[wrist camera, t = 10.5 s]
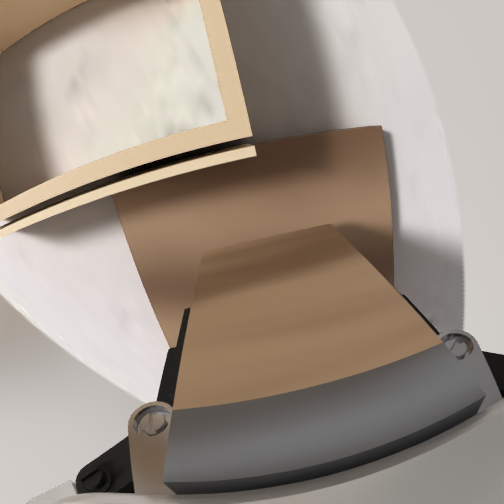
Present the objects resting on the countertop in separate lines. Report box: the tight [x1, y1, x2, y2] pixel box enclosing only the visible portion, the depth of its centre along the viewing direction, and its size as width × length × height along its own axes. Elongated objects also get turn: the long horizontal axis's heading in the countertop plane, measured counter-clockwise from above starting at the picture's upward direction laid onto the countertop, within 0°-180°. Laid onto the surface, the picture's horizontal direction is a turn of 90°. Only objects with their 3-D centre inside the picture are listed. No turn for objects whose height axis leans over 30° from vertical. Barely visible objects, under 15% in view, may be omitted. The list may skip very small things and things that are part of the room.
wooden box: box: [0, 0, 257, 238], centre depth 9 cm, size 11×14×4 cm
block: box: [162, 224, 486, 495], centre depth 8 cm, size 5×5×9 cm
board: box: [112, 126, 394, 348], centre depth 14 cm, size 12×12×1 cm
